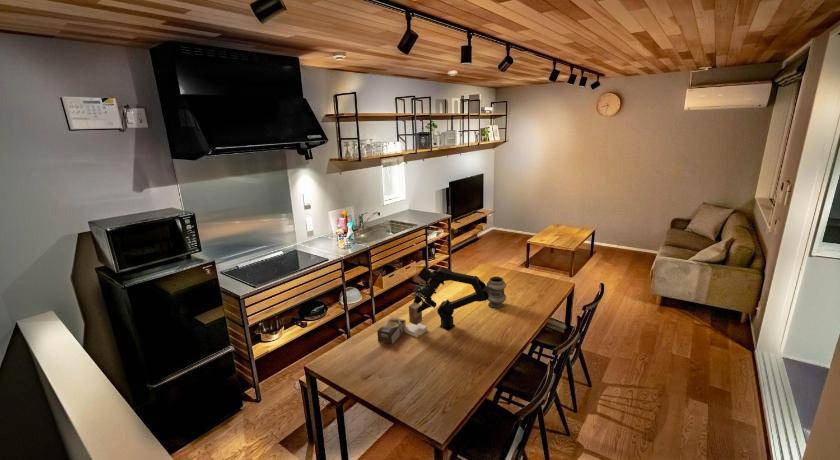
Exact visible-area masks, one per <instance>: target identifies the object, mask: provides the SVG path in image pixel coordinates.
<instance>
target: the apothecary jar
mask: <svg viewBox="0 0 840 460" xmlns="http://www.w3.org/2000/svg"><path fill="white" fill-rule="evenodd" d="M486 286H487V287H489V288H490V290H491V293H490V295H489V298H488V299H487V300H486V301H488V304H487V306H488V308H490V309H495V310H501V309H504V308H505V304H504V302H505V301H506V300H507V296H506V294H505V289H506V288H507V283H506V281H504V278H503V277H502V276H498V275H497V276H495V275H494V276H492V277H490V278H489V280H488V281H487V282H486Z"/></svg>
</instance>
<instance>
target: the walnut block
mask: <svg viewBox="0 0 840 460" xmlns="http://www.w3.org/2000/svg"><path fill="white" fill-rule="evenodd" d="M420 306H421V304H420V303H419V304H417V303H413V302H412V304H410V305H408V320H409V323H410V324H415V325H417V324H419V323H420V324H421V323H422V322H423V311H421V312H420V313H418V312H417V311H418V309H419V308H420Z"/></svg>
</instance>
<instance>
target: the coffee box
mask: <svg viewBox="0 0 840 460" xmlns="http://www.w3.org/2000/svg"><path fill="white" fill-rule="evenodd" d="M406 322H407V321H406V319H404V318H403V319H402V318H398V317H394V316H390V318H389V319H388V320H386V322H385V323H383V324H382V326H381V327H380V328H379V329H377V331H376V333H377V341H378V342H383V343H386V344H390V345H393V344H394V342H395V341H396V340H398V338H399V337H400V336H401V335H402V334H403V333H405V329H404V328H405V327H407V326H406V325H407V323H406Z"/></svg>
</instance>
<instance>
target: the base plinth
mask: <svg viewBox="0 0 840 460" xmlns="http://www.w3.org/2000/svg"><path fill="white" fill-rule="evenodd" d="M404 329H405V331H404V333H406V334H408V335H411V336H412V337H414V336H415V337H414V338H418V337H419V335H420V336H422V335H424V334H425V333H426V332H427V331H428V326H427V325H424V324H422V323H421V322H420V323H419V324H417V325H415V324H412V323H410V324H408V325H407V326H406V327H405V328H404Z"/></svg>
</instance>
